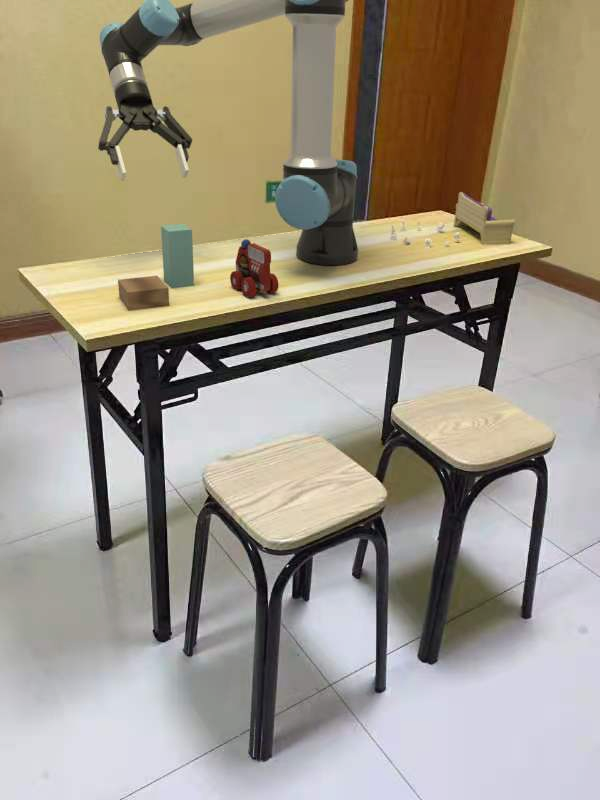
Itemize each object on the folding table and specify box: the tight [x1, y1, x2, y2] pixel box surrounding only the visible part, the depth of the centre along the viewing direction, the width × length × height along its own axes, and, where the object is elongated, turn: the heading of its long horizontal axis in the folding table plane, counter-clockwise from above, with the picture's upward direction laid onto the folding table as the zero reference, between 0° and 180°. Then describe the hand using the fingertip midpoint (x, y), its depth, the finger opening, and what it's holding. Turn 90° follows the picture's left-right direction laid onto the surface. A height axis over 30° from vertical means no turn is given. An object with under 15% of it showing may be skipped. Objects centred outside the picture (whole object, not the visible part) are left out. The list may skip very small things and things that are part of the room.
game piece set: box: [390, 219, 461, 249], centre depth 187 cm, size 19×20×4 cm
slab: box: [117, 275, 170, 312], centre depth 136 cm, size 8×8×4 cm
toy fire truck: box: [230, 239, 279, 298], centre depth 143 cm, size 7×12×10 cm, turn 33°
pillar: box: [160, 223, 195, 289], centre depth 144 cm, size 5×5×12 cm
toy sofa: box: [453, 191, 516, 246], centre depth 191 cm, size 21×9×10 cm, turn 11°
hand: (155, 175), depth 146 cm, fingers open, 13 cm apart
